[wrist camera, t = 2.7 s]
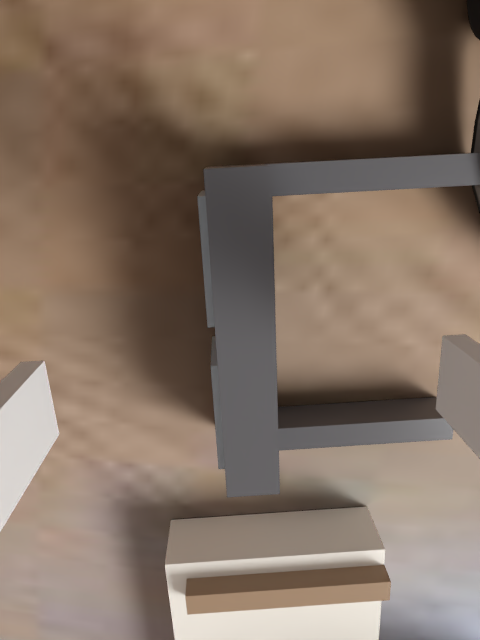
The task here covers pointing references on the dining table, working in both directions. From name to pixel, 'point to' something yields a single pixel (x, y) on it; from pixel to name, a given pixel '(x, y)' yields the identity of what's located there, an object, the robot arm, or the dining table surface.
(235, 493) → the glasses
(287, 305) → the dining table surface
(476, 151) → the headset
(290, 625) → the stand
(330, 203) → the dining table surface
